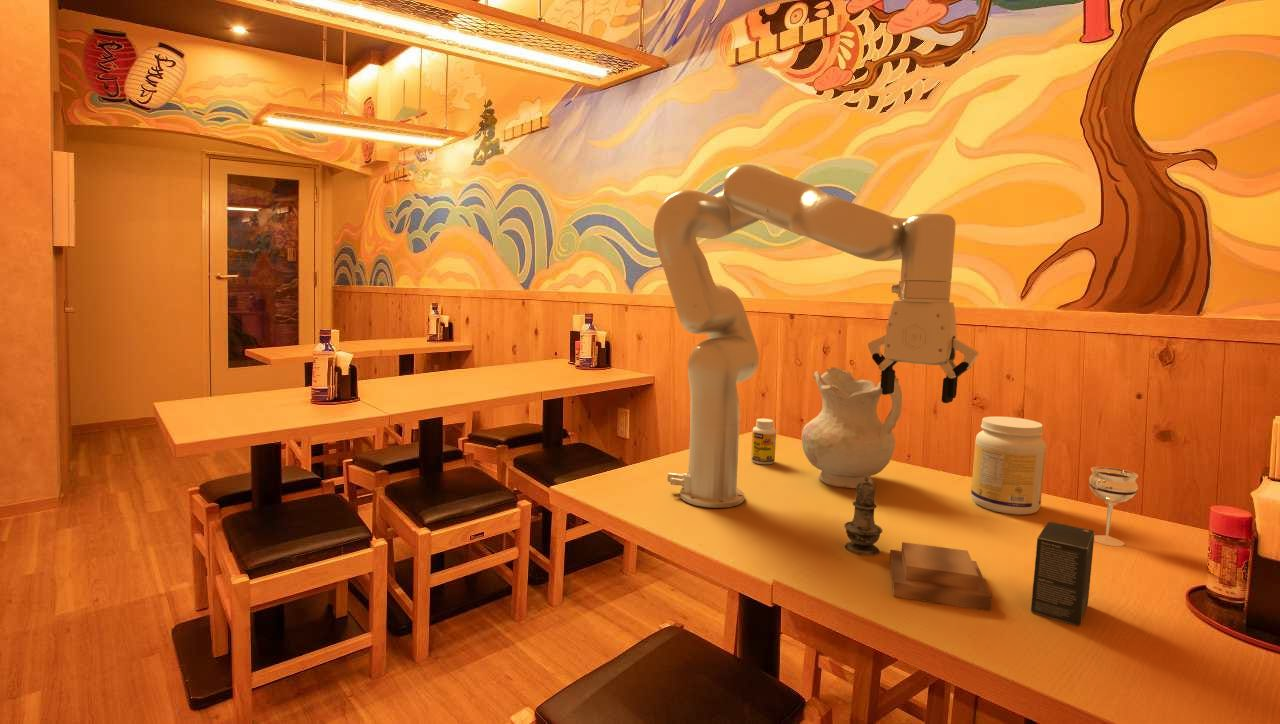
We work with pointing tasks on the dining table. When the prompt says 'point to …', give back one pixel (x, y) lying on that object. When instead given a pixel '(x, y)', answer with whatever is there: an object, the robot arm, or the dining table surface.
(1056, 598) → the box
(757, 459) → the supplement bottle
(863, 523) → the salt shaker
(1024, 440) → the supplement tub
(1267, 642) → the dining table surface
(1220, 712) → the dining table surface
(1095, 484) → the wineglass
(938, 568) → the plinth
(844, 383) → the ceramic pitcher
